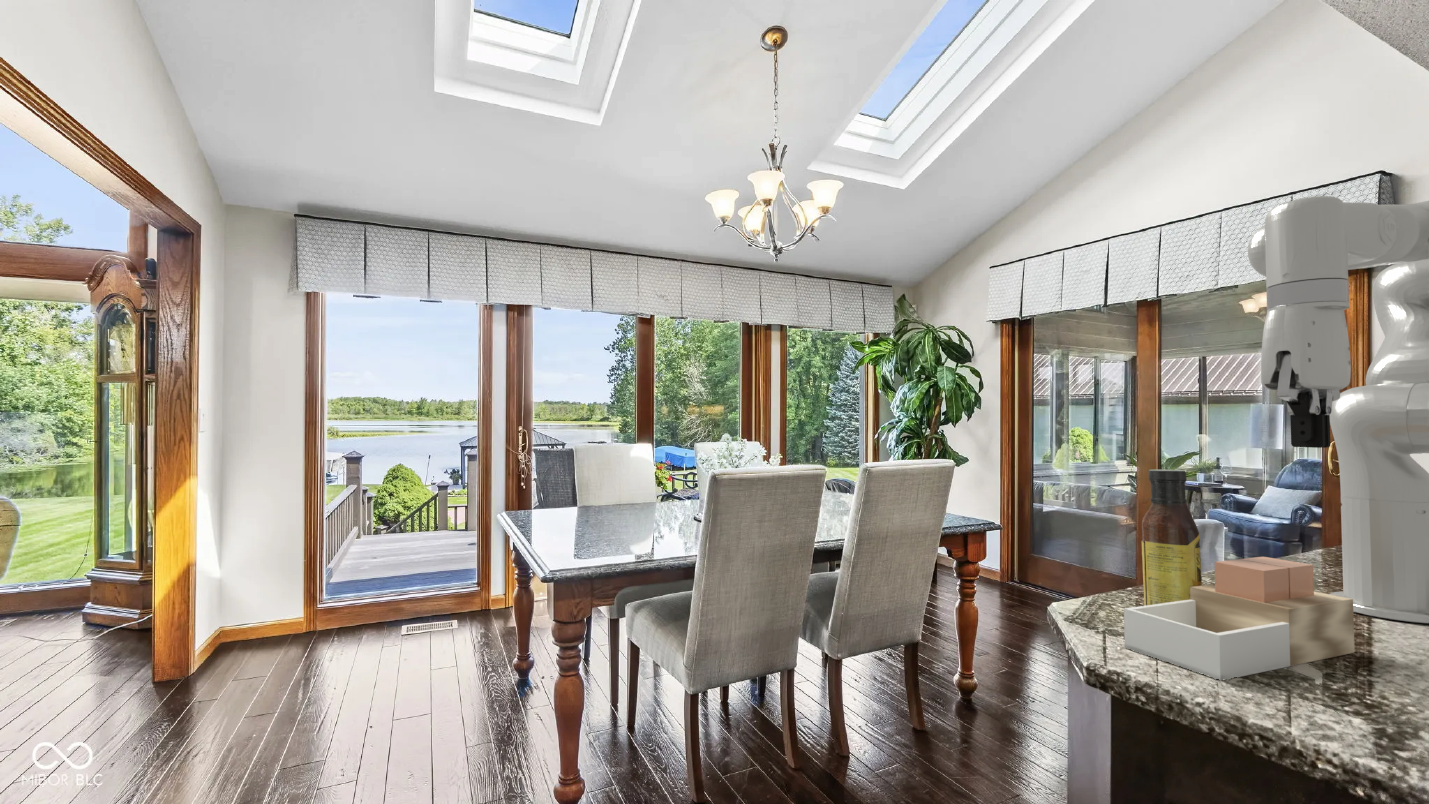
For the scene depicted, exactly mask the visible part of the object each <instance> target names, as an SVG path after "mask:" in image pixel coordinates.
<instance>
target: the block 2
mask: <svg viewBox="0 0 1429 804" xmlns="http://www.w3.org/2000/svg"><path fill="white" fill-rule="evenodd" d="M1240 560H1246V561H1252V562H1257V563H1263V564H1269V565H1274V566H1280V567H1286V568H1288V573H1289V599H1293V598H1299V597H1306V596H1313V595H1314V591H1315V583H1314V579H1315V578H1314V577H1315V576H1314V574H1315V573H1314V564H1311V563H1310V564H1309V563H1303V562H1298V561H1291V560H1284V559H1281V558H1280V559H1279V558H1274V557H1268V556H1257V557H1256V556H1255V557H1246V558H1240Z"/></svg>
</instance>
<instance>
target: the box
mask: <svg viewBox="0 0 1429 804" xmlns="http://www.w3.org/2000/svg"><path fill="white" fill-rule="evenodd" d="M1123 619H1124V620H1123V622H1124V623H1123V625H1124V626H1123V634H1124V636H1123V637H1124V649H1126V648H1127V649H1126V650H1128V649H1131V650H1134V651H1136V652H1135V653H1137V652H1140V653H1142V654H1141V655H1143V654H1146V655H1148V656H1147V657H1149V656H1151V657H1150V658H1152V657H1153V659H1155V658H1157V659H1156V660H1158V659H1159V660H1158V661H1161V660H1162V661H1161V662H1164V661H1167V662H1170V663H1173V664H1175V665H1179V666H1181V667H1184V668H1187V669H1189V670H1188V671H1190V670H1193V671H1195V672H1194V673H1196V672H1200V673H1203V674H1204V675H1209V676H1210V677H1213V678H1216V679H1219V680H1223V679H1227V680H1231V679H1230V678H1232V679H1235V678H1234V677H1237V678H1242V677H1245V676H1246V677H1247V676H1249V675H1250V676H1251V675H1255V674H1259V673H1260V674H1261V673H1264V672H1268V671H1273V670H1279V669H1282V668H1284V669H1285V668H1288V667H1291V666H1290V639H1289V623H1285V622H1279V623H1273V624H1267V625H1261V626H1255V627H1249V628H1243V629H1237V630H1232V631H1226V632H1220V633H1215V632H1211V631H1208V630H1204V629H1201V628H1197V627H1196V601H1195V600H1191V599H1190V600H1183V601H1175V602H1168V603H1161V604H1154V605H1146V606H1144V605H1140V606H1133V607H1127V608H1126V607H1125V608H1123ZM1131 650H1130V651H1131ZM1134 651H1133V652H1134ZM1140 653H1139V654H1140ZM1146 655H1145V656H1146ZM1175 665H1174V666H1175ZM1181 667H1180V668H1181ZM1184 668H1183V669H1184ZM1187 669H1186V670H1187ZM1193 671H1192V672H1193ZM1204 675H1203V676H1204ZM1210 677H1209V678H1210ZM1213 678H1212V679H1213ZM1216 679H1215V680H1216ZM1219 680H1218V681H1219ZM1223 681H1224V680H1223Z"/></svg>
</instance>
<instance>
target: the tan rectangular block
mask: <svg viewBox="0 0 1429 804" xmlns="http://www.w3.org/2000/svg"><path fill="white" fill-rule="evenodd" d="M1190 599H1191V600H1195V601H1196V627H1197V628H1201V629H1204V630H1208V631H1211V632H1215V633H1220V632H1226V631H1232V630H1237V629H1243V628H1249V627H1255V626H1261V625H1267V624H1273V623H1279V622H1285V623H1289V639H1290V666H1289V667H1292V666H1298V665H1302V664H1306V663H1311V662H1317V661H1322V660H1325V659H1331V658H1334V657H1340V656H1344V655H1348V654H1354V653H1355V649H1356V648H1355V624H1354V623H1355V621H1354V612H1353V599H1350V598H1345V597H1340V596H1335V595H1330V593H1324V592H1320V591H1319V592H1318V591H1315V590H1314V595H1313V596H1306V597H1299V598H1293V599H1286V600H1279V601H1273V602H1266V603H1263V602H1259V601H1254V600H1250V599H1246V598H1241V597H1237V596H1232V595H1228V594H1223V593H1219V592H1215V583H1211V584H1205V585H1204V584H1202V586H1194V587H1190Z"/></svg>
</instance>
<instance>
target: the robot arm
mask: <svg viewBox="0 0 1429 804" xmlns="http://www.w3.org/2000/svg"><path fill="white" fill-rule="evenodd" d="M1247 246H1248V247H1247V257H1248V260H1249V263H1250V265H1251V267H1252V268H1253V269H1254V271H1256V273H1258V274H1259V275H1261V276H1262V277H1263V276H1264V277H1265V283H1266V285H1265V286H1266V287H1265V288H1266V315H1265V320H1264V325H1263V331H1262V341H1261V357H1260V359H1261V361H1260V382H1261V385H1262V386H1263V388H1265V389H1266V390H1271V391H1277V392H1276V395H1277V397H1278V398H1279V399H1280V400H1283V401H1285V402H1286V408H1287V413H1288V415H1289V418H1290V445H1291V446H1292V447H1293V448H1316V449H1317V448H1323V449H1324V448H1327V449H1328V448H1330V447H1331V432H1332V435H1333V440H1334V443H1335V448H1336V452H1337V453H1336V454H1337V459H1338V467H1339V483H1340V484H1339V485H1340V515H1341V517H1340V519H1341V521H1340V522H1341V523H1340V524H1341V554H1342V555H1341V556H1342V559H1341V560H1342V583H1343V584H1342V585H1343V586H1342V588H1343V589H1342V590H1343V591H1334V592H1330V593H1329V594H1330V595H1335V596H1340V597H1345V598H1350V599H1353V613H1358V614H1362V615H1367V616H1370V617H1375V618H1376V617H1377V618H1381V619H1388V620H1393V621H1400V622H1401V621H1402V622H1410V623H1417V624H1418V623H1419V624H1427V625H1428V624H1429V472H1428V471H1427V470H1426V469H1425V468H1424V467H1422V466H1421V465H1420V464H1419V463H1418V462H1417V461H1416V460H1415V459H1414V458H1413V457H1412V456H1411V455H1412V454H1415V455H1416V454H1417V455H1418V454H1429V200H1426V201H1420V202H1414V203H1409V204H1406V203H1404V204H1389V203H1388V204H1377V203H1372V202H1364V201H1363V202H1362V201H1361V202H1345V201H1343V200H1342V199H1341V198H1338V197H1335V196H1325V195H1323V196H1322V195H1320V196H1319V195H1318V196H1310V197H1309V196H1308V197H1304V198H1298V199H1294V200H1293V199H1292V200H1290V201H1286V202H1284V203H1281V204H1279V205H1276V206H1274V207H1272V208H1271V210H1269V211H1268V213H1267V215H1266V216H1265V219H1264V225H1262V226H1261V227H1259V228H1258V229H1257V230H1256V231H1254V233H1253V234H1252V236H1251V238H1250V239H1249V242H1248V244H1247ZM1387 265H1388V267H1386V268H1384V269H1383V270H1381V271H1380V272H1379V273H1378V274H1377V276H1376V278H1375V279H1374V282H1373V286H1372V299H1373V305H1374V310H1375V314H1376V317H1377V321H1378V324H1379V326H1380V328H1381V330H1382V332H1383V334H1384V339H1383V341H1382V343H1381V345H1380V347H1379V348H1378V350H1377V351H1376V352H1377V353H1376V354H1375V356H1374V357H1373V359H1372V361H1371V363H1370V365H1369V366H1368V369H1367V372H1366V375H1365V385H1362V386H1356V387H1352V388H1349V389H1346V390H1343V389H1345V388H1347V387H1348V386H1349V385H1350V384H1351V375H1352V374H1351V373H1352V371H1351V369H1352V366H1351V365H1352V363H1351V350H1350V347H1351V346H1350V341H1349V333H1348V325H1347V319H1346V314H1345V310H1348V309H1349V308H1350V292H1349V291H1350V289H1349V288H1350V287H1349V270H1357V269H1365V268H1373V267H1381V266H1387ZM1389 265H1390V266H1389ZM1340 390H1343V391H1342V392H1340Z"/></svg>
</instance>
